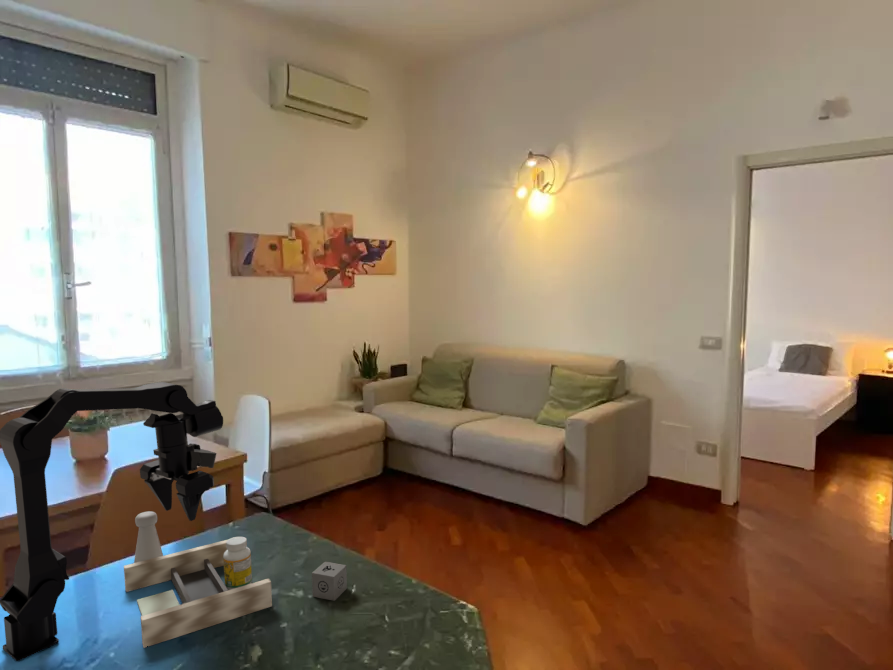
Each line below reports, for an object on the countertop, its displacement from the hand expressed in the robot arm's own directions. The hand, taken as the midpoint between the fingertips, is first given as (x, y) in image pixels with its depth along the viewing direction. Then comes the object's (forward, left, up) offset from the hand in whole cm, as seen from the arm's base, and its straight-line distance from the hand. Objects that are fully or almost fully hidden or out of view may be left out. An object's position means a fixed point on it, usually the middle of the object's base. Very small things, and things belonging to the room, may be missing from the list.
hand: (180, 514), depth 126 cm
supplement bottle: (+5, -11, -14) cm, 19 cm away
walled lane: (-2, -9, -14) cm, 17 cm away
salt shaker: (-2, +10, -14) cm, 18 cm away
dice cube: (+14, -29, -15) cm, 36 cm away
